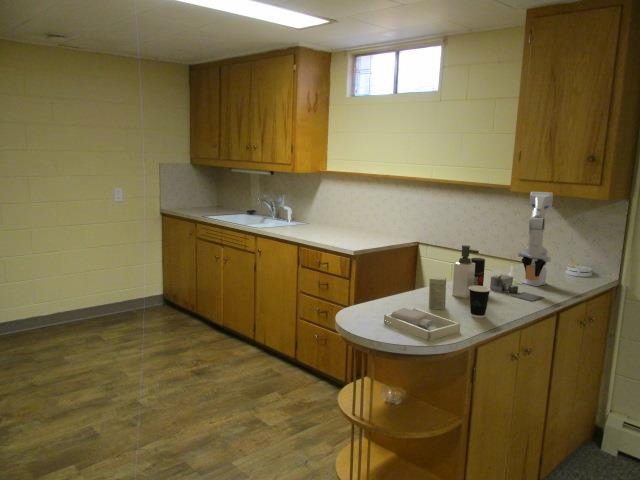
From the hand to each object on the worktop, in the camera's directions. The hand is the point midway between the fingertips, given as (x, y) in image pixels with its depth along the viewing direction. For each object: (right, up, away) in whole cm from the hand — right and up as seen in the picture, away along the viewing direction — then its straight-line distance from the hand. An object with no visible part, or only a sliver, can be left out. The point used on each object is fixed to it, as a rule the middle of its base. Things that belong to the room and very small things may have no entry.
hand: (532, 275), depth 230 cm
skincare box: (-47, -12, -21) cm, 53 cm away
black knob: (-7, -8, +4) cm, 12 cm away
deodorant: (-24, -8, +4) cm, 25 cm away
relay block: (0, -2, 0) cm, 2 cm away
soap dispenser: (-31, -9, -3) cm, 32 cm away
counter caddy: (-58, -15, -45) cm, 75 cm away
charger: (-60, -16, -44) cm, 76 cm away
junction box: (-11, -7, +9) cm, 16 cm away
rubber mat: (-3, -9, -3) cm, 10 cm away
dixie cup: (-33, -14, -31) cm, 47 cm away
